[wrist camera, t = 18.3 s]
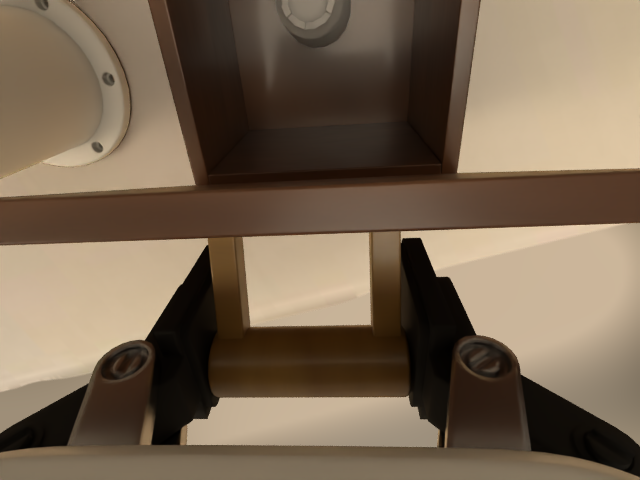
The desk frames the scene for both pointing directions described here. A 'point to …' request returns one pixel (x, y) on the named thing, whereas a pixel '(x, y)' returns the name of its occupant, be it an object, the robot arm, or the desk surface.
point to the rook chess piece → (314, 20)
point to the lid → (320, 218)
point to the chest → (318, 89)
